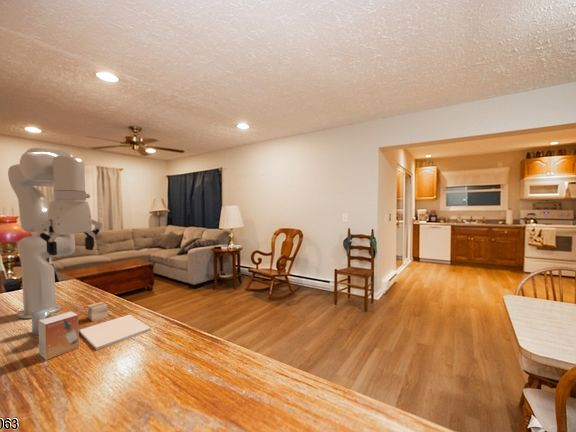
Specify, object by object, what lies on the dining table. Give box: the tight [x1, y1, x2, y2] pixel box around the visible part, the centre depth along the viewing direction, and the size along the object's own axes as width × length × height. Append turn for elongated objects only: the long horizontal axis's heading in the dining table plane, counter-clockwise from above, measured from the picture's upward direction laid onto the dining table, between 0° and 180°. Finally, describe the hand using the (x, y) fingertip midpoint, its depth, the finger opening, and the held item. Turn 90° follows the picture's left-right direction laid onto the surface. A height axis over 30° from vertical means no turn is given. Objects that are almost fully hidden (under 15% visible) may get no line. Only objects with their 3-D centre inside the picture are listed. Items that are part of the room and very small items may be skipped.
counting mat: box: [79, 314, 152, 351], centre depth 91 cm, size 18×16×1 cm
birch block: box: [87, 301, 109, 322], centre depth 102 cm, size 5×5×5 cm
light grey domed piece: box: [31, 309, 49, 336], centre depth 90 cm, size 4×4×7 cm
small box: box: [38, 310, 80, 361], centre depth 78 cm, size 8×6×10 cm
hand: (72, 252), depth 81 cm, fingers open, 9 cm apart
